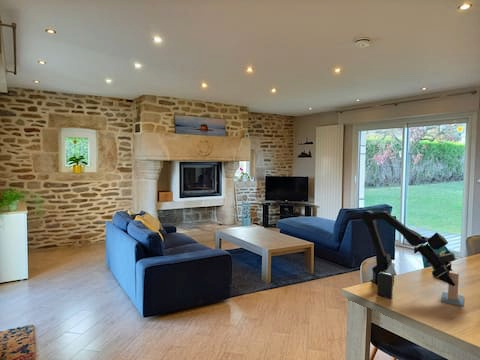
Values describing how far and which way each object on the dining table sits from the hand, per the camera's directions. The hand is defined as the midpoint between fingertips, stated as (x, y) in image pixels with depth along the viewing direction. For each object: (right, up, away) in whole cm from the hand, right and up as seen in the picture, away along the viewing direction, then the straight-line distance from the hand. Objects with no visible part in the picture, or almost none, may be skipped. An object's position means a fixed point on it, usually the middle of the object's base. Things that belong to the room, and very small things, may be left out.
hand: (455, 282), depth 156 cm
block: (-1, -8, +1) cm, 8 cm away
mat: (-1, -8, +1) cm, 8 cm away
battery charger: (-32, -8, +3) cm, 33 cm away
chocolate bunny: (+14, -7, +34) cm, 38 cm away
